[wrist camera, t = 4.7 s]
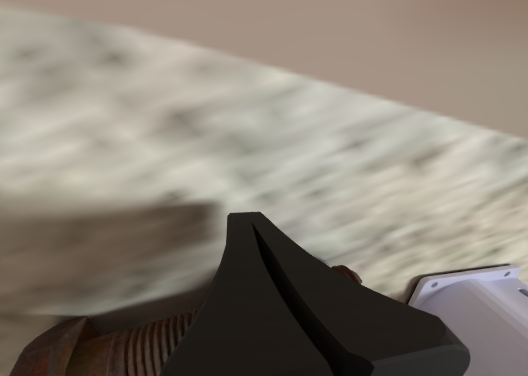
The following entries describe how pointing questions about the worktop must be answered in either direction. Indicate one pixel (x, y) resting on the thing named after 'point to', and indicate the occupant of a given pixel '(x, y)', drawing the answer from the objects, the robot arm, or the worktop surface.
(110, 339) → the bolt
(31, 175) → the worktop surface
